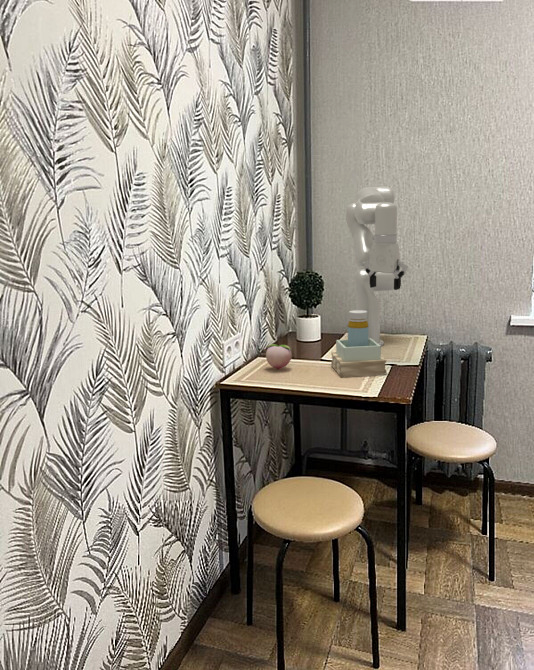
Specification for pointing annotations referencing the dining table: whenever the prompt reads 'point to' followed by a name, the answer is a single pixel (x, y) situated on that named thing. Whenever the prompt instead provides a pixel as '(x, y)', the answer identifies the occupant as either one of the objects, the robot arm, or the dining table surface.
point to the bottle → (357, 328)
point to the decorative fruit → (278, 355)
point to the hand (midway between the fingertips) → (384, 288)
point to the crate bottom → (358, 367)
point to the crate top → (358, 351)
